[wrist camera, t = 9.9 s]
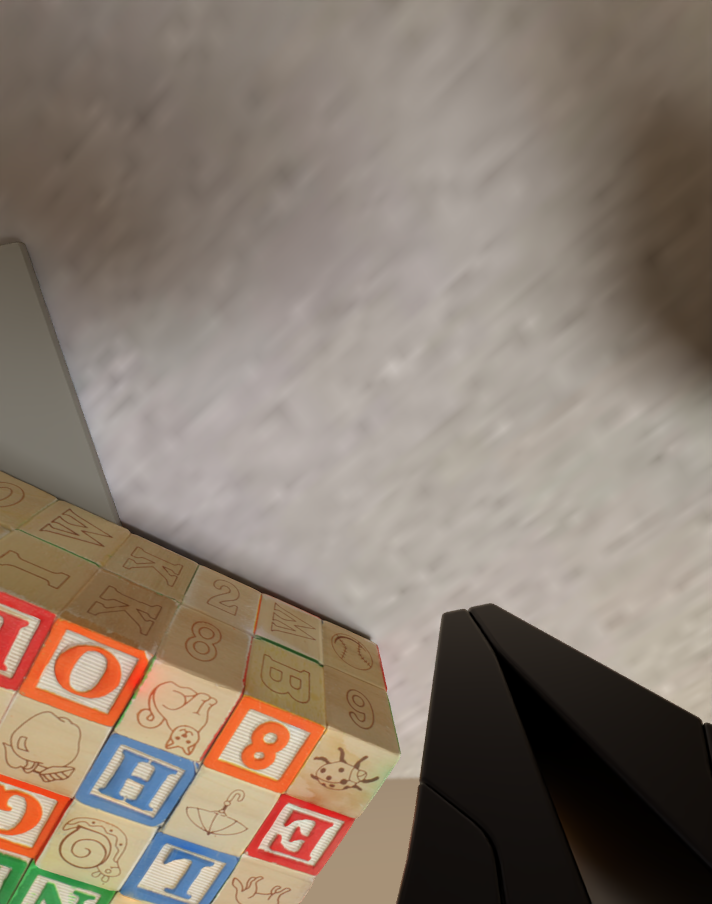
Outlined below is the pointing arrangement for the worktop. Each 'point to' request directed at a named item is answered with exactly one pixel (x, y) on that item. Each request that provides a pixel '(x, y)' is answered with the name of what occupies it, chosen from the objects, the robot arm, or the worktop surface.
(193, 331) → the worktop surface
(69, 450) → the mat
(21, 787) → the stack of blocks
